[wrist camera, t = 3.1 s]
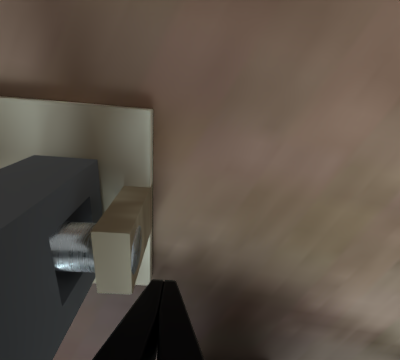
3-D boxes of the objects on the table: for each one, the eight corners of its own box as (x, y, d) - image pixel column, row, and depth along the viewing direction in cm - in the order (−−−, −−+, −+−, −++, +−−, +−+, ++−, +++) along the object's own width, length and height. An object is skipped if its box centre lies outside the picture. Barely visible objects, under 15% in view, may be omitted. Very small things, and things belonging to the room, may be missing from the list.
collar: (97, 159, 11) (-62, 273, 4) (106, 257, 13) (12, 437, 6) (34, 154, 11) (-241, 266, 4) (53, 254, 13) (-102, 437, 6)
